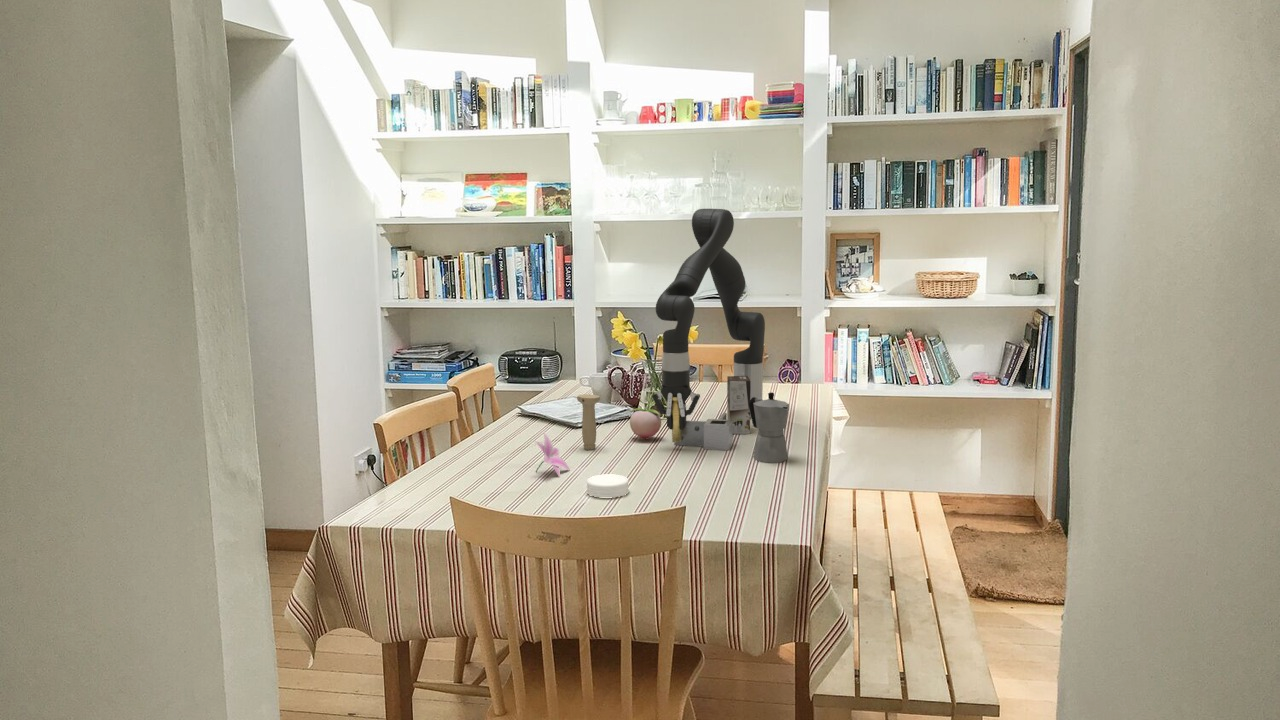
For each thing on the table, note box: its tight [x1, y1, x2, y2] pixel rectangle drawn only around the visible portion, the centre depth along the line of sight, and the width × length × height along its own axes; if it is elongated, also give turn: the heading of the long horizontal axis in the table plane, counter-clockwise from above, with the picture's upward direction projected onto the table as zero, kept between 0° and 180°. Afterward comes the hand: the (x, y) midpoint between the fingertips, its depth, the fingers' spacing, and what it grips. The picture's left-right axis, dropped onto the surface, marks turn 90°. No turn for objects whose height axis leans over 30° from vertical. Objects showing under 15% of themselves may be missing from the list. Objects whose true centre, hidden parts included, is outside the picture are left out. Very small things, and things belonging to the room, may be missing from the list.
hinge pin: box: [671, 397, 682, 444], centre depth 269 cm, size 4×4×13 cm
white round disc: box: [586, 473, 630, 497], centre depth 230 cm, size 10×10×4 cm
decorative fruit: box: [629, 405, 662, 440], centre depth 280 cm, size 9×8×10 cm
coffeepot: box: [749, 392, 790, 464], centre depth 258 cm, size 15×9×18 cm, turn 34°
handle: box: [576, 393, 601, 451], centre depth 270 cm, size 5×6×15 cm
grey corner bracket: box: [673, 412, 734, 451], centre depth 277 cm, size 16×16×7 cm
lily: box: [534, 431, 571, 477], centre depth 247 cm, size 12×12×10 cm
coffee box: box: [726, 375, 751, 435], centre depth 289 cm, size 9×6×16 cm
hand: (676, 428), depth 269 cm, fingers closed on hinge pin, 2 cm apart
